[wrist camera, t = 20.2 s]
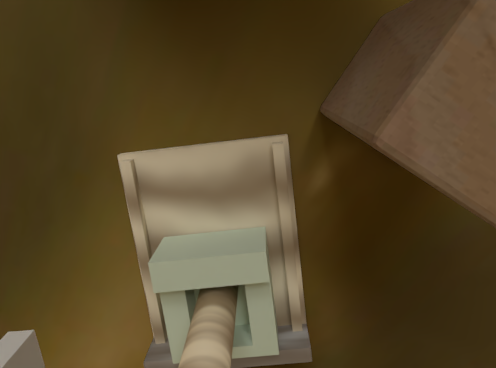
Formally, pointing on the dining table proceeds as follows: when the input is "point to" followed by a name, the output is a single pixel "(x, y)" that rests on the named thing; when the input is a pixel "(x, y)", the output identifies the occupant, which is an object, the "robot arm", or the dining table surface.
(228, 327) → the dowel
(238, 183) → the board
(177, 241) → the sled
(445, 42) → the wooden block
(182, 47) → the dining table surface
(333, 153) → the dining table surface
